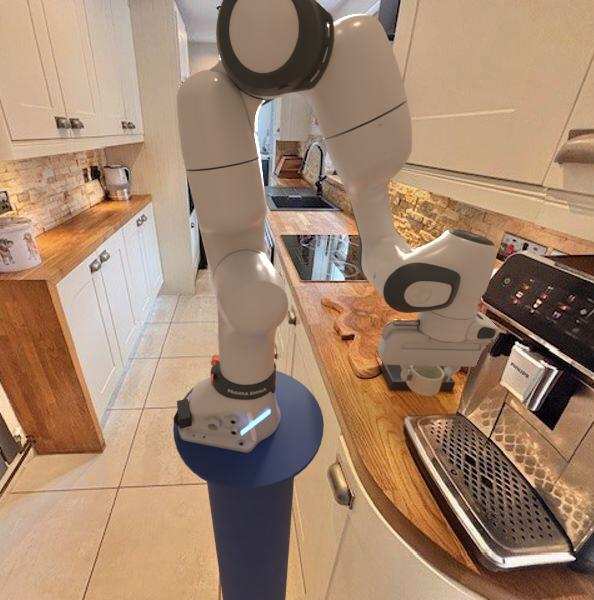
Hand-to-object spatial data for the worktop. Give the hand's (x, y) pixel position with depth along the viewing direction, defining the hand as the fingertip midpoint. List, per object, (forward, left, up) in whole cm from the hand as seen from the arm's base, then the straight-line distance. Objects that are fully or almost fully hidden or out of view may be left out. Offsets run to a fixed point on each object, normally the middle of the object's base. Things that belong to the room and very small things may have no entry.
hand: (424, 379), depth 65 cm
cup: (0, 0, -2) cm, 2 cm away
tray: (+4, +13, -10) cm, 17 cm away
